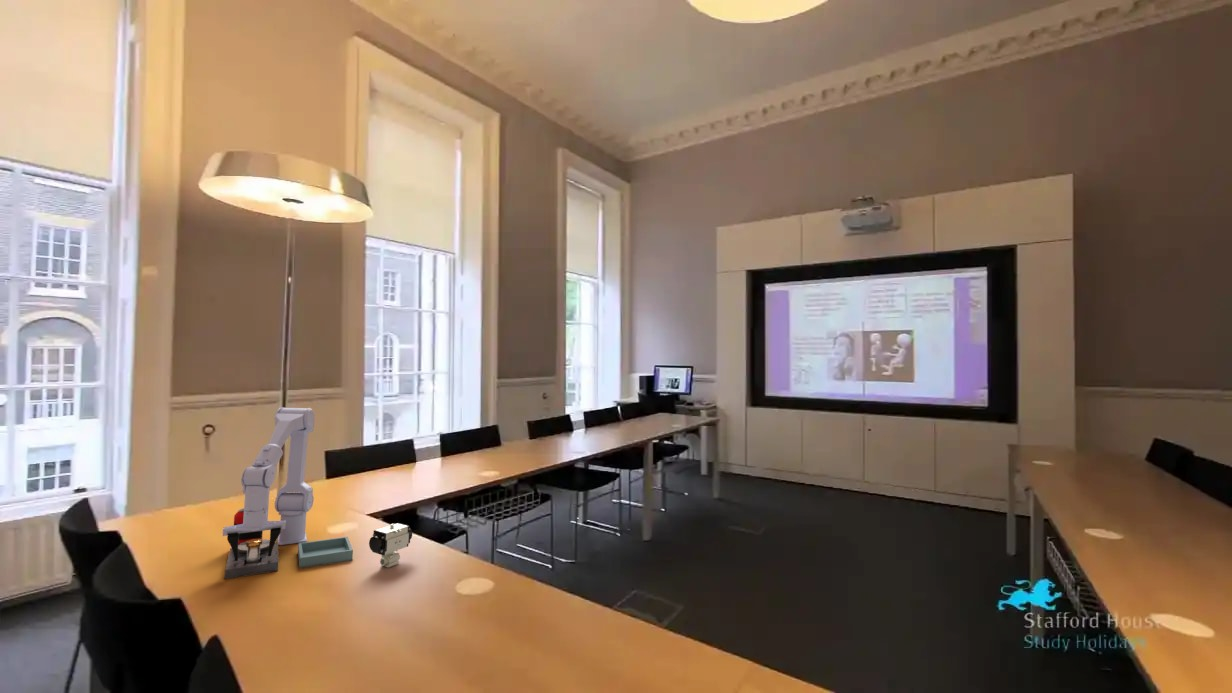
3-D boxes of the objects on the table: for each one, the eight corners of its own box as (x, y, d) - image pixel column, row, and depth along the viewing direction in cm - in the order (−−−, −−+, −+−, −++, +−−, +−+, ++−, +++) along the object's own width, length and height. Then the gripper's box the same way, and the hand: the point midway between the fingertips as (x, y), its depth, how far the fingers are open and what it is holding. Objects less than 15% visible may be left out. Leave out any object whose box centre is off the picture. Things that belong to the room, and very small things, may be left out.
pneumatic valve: (367, 570, 149) (369, 528, 149) (400, 557, 159) (402, 518, 159) (379, 574, 146) (382, 531, 146) (413, 561, 156) (415, 521, 157)
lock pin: (244, 568, 146) (246, 540, 146) (260, 566, 148) (262, 538, 148) (243, 573, 143) (245, 544, 143) (260, 571, 145) (262, 542, 145)
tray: (297, 552, 159) (298, 543, 159) (347, 545, 166) (347, 536, 167) (299, 568, 148) (300, 557, 148) (352, 560, 155) (352, 550, 155)
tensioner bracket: (229, 556, 154) (230, 538, 154) (277, 550, 160) (278, 532, 161) (224, 579, 139) (226, 558, 139) (277, 570, 145) (279, 551, 146)
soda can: (225, 550, 158) (228, 511, 159) (248, 542, 166) (251, 505, 166) (245, 554, 157) (247, 514, 157) (267, 545, 164) (270, 507, 164)
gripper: (223, 515, 139) (219, 566, 138) (286, 509, 147) (283, 557, 146) (225, 509, 145) (221, 558, 144) (286, 503, 153) (283, 549, 152)
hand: (253, 557), depth 146 cm, fingers open, 7 cm apart
